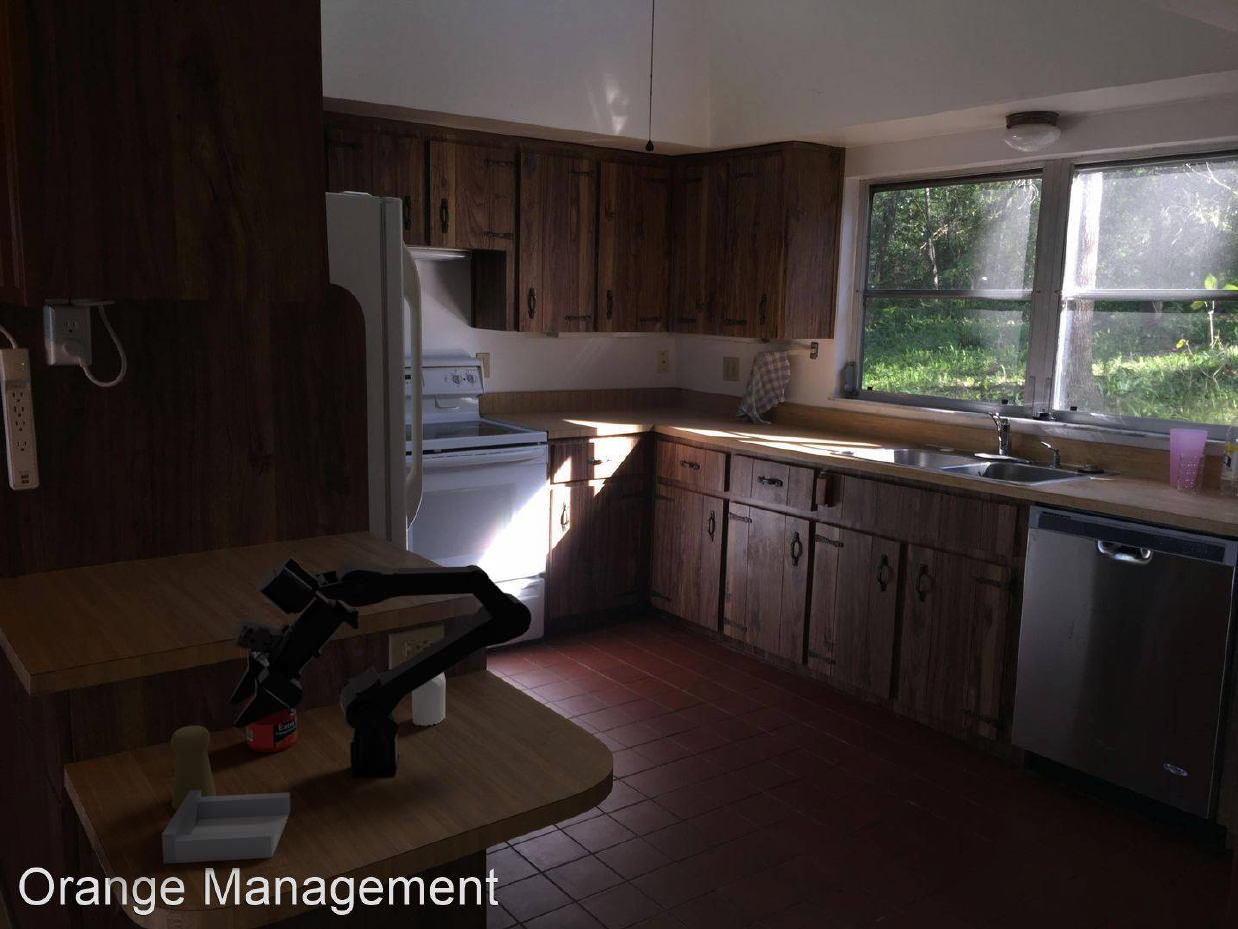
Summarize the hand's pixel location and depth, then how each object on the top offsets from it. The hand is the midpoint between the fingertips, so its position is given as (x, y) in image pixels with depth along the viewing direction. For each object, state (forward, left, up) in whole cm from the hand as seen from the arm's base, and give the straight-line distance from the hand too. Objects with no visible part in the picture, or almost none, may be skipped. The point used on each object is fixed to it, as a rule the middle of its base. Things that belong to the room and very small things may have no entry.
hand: (234, 715), depth 147 cm
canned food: (-1, -17, -12) cm, 21 cm away
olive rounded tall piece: (+6, +2, -12) cm, 14 cm away
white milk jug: (-26, -24, -12) cm, 38 cm away
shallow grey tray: (-3, +13, -12) cm, 18 cm away
